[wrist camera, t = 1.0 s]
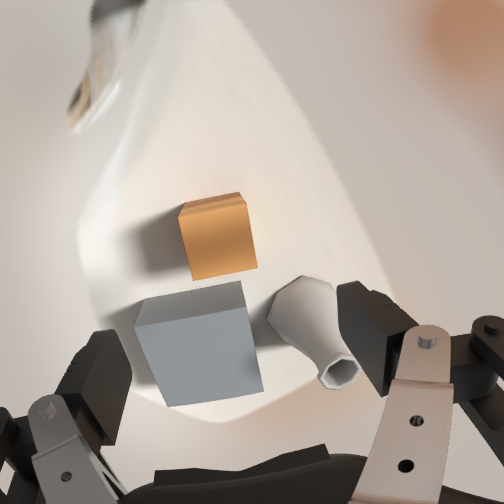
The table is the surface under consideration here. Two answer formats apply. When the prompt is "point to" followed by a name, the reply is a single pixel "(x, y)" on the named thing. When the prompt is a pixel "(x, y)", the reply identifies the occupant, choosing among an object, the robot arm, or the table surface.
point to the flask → (314, 329)
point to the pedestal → (199, 344)
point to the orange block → (217, 236)
